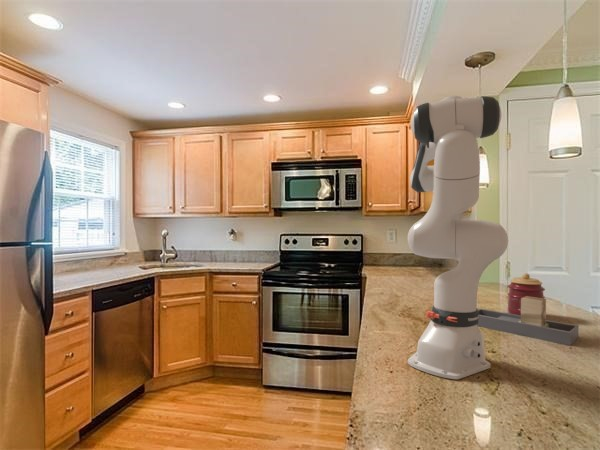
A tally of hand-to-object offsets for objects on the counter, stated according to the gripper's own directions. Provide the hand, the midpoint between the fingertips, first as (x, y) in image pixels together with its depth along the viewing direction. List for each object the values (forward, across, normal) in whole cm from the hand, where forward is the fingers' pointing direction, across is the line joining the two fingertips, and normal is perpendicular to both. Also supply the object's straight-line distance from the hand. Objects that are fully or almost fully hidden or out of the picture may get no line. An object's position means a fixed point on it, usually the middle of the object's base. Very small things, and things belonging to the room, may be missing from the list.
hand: (445, 236), depth 138 cm
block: (+30, +8, -28) cm, 42 cm away
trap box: (+33, +8, -24) cm, 42 cm away
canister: (+33, +32, -19) cm, 50 cm away
